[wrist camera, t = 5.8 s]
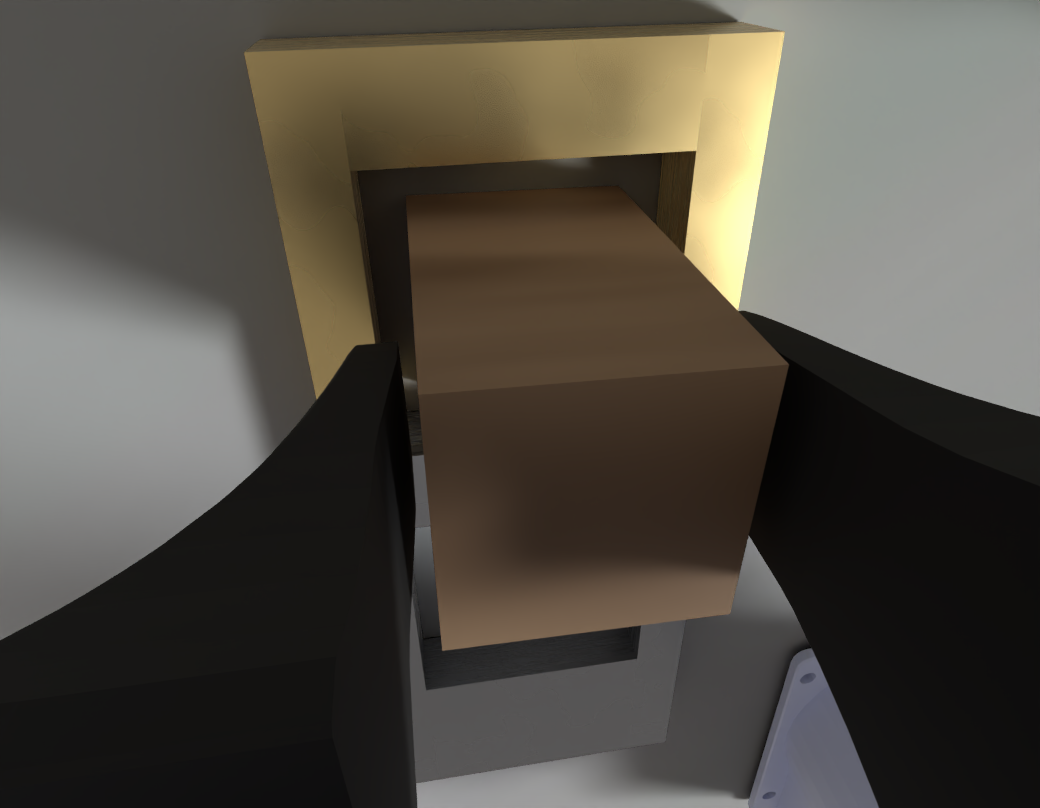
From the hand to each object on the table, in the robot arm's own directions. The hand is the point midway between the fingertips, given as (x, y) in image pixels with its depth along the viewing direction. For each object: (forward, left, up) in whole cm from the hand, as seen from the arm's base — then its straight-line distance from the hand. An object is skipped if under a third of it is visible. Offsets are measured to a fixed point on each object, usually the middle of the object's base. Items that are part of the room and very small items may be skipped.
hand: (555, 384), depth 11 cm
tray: (-5, 0, -4) cm, 6 cm away
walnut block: (0, 0, -4) cm, 4 cm away
